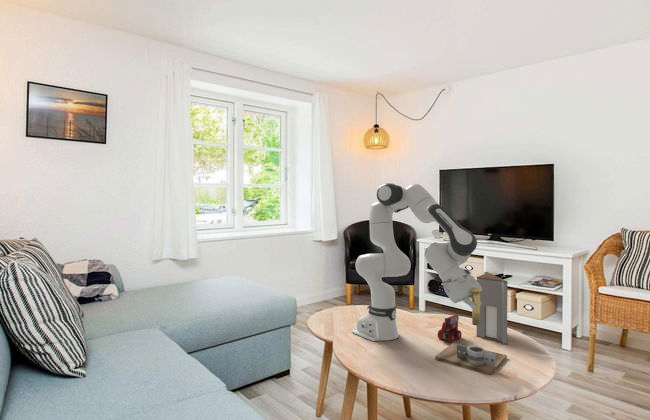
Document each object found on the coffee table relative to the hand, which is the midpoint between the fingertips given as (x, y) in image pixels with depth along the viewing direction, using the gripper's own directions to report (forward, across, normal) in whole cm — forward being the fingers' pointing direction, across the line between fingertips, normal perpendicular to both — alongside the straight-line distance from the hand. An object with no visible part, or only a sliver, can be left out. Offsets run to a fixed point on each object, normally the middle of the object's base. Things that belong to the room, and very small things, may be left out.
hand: (477, 306), depth 152 cm
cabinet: (+9, +33, +24) cm, 42 cm away
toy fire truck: (+1, +18, +32) cm, 37 cm away
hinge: (+15, 0, +16) cm, 22 cm away
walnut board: (+13, +4, +20) cm, 24 cm away
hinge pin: (+5, 0, +5) cm, 7 cm away
